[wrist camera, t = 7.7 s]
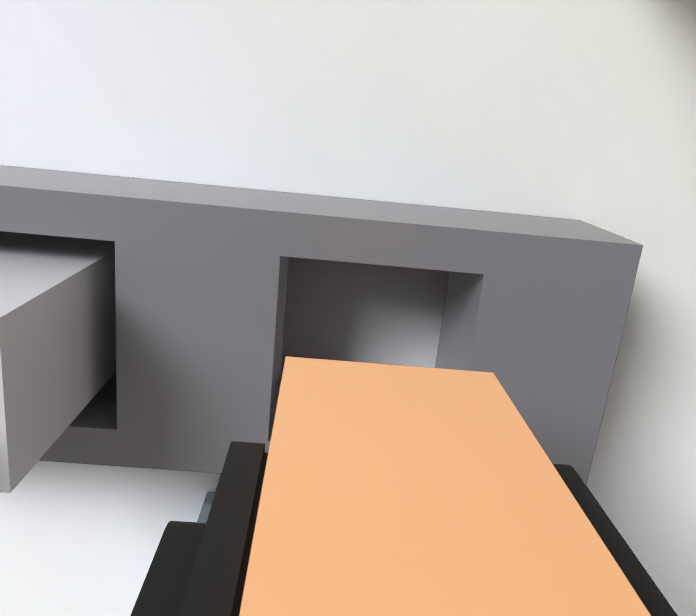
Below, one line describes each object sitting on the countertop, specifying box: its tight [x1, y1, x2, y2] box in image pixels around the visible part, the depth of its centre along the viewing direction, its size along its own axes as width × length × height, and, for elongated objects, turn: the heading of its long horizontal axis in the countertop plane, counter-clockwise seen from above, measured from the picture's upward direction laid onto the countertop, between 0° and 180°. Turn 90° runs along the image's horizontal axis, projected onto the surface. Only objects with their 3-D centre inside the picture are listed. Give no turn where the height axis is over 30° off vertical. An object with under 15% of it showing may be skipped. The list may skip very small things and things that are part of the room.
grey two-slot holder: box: [0, 165, 643, 485], centre depth 19 cm, size 24×8×4 cm, turn 85°
